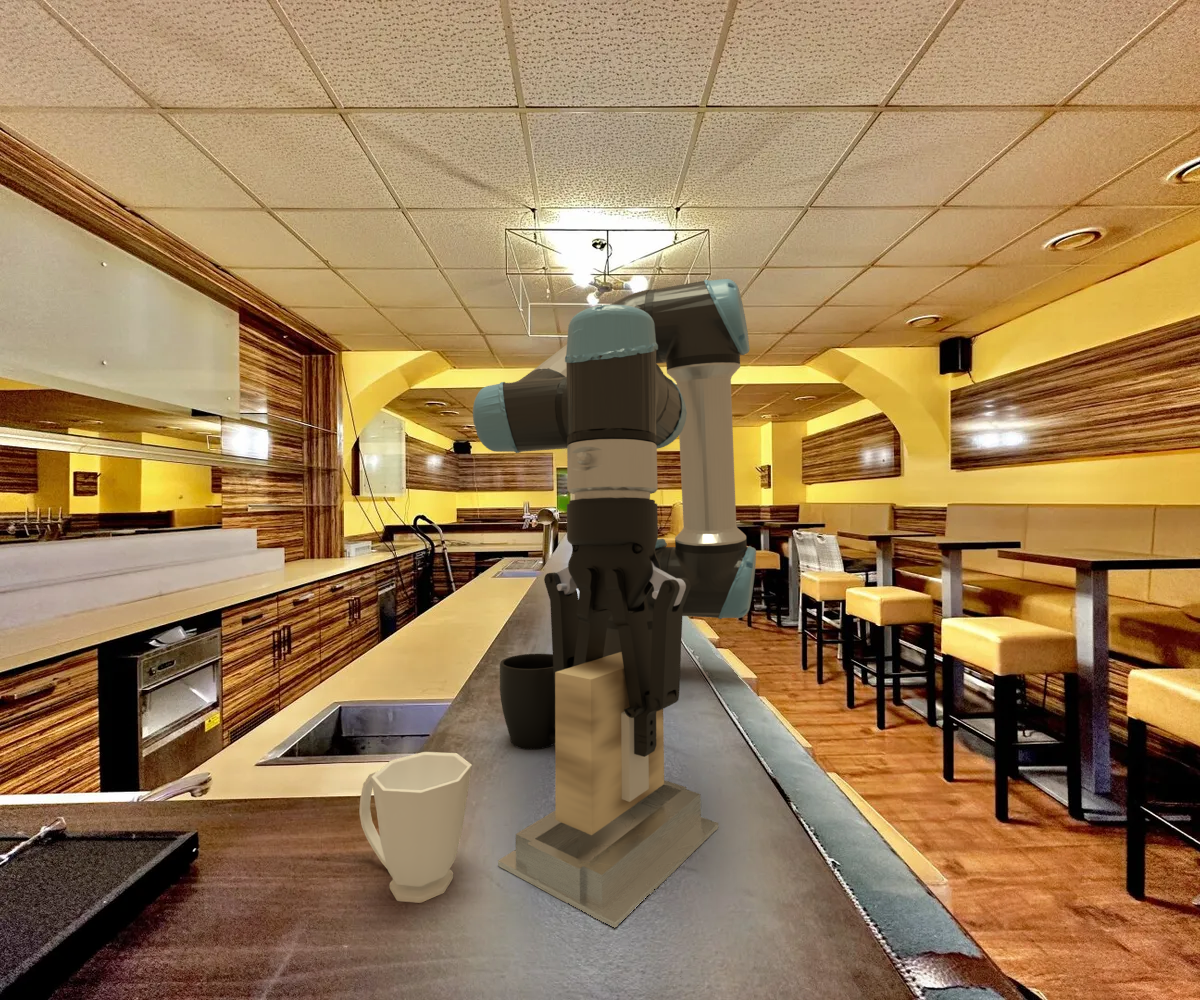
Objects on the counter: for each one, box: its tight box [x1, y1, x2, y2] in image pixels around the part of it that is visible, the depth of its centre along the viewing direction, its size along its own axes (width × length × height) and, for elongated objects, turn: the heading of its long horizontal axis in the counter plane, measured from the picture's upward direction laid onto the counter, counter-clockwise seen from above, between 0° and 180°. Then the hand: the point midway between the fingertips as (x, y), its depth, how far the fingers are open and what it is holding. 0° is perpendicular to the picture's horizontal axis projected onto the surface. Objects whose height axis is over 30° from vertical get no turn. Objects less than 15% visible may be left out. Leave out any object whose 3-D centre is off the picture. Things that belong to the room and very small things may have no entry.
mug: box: [499, 653, 555, 750], centre depth 66 cm, size 8×12×10 cm
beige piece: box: [497, 779, 719, 929], centre depth 45 cm, size 15×11×3 cm
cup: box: [358, 751, 473, 904], centre depth 41 cm, size 7×10×8 cm
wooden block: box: [554, 652, 665, 835], centre depth 45 cm, size 10×4×11 cm, turn 142°
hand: (613, 785), depth 45 cm, fingers closed on wooden block, 3 cm apart
